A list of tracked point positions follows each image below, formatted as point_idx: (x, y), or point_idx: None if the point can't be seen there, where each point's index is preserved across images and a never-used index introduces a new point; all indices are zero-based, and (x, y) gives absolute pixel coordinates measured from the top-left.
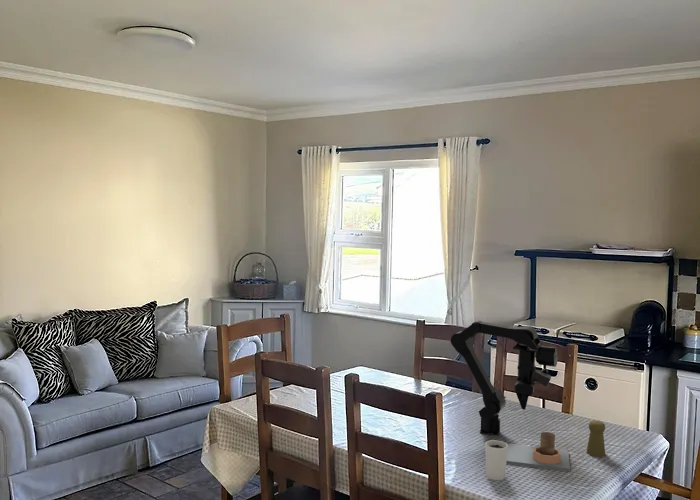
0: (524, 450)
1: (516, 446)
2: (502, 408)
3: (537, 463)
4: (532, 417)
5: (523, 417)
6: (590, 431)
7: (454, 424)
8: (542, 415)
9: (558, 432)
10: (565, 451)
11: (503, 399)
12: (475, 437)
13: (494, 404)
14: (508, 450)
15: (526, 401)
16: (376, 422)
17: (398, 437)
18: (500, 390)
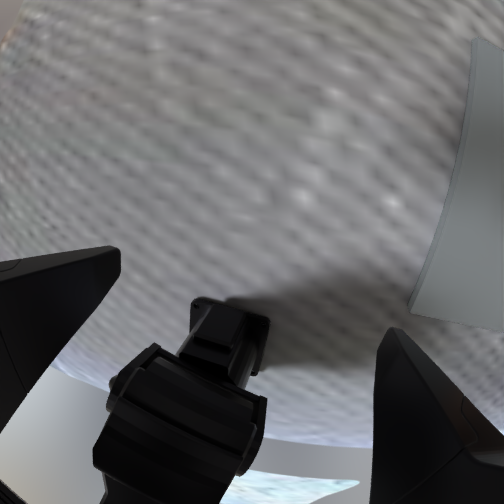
0: (493, 254)
1: (450, 280)
2: (205, 388)
3: None
4: (35, 135)
5: (41, 169)
6: None
7: None
8: (18, 102)
9: (171, 19)
10: (493, 55)
11: (173, 429)
12: (304, 391)
13: (250, 462)
14: (481, 319)
15: (458, 402)
16: (227, 499)
17: (313, 496)
18: (108, 459)
